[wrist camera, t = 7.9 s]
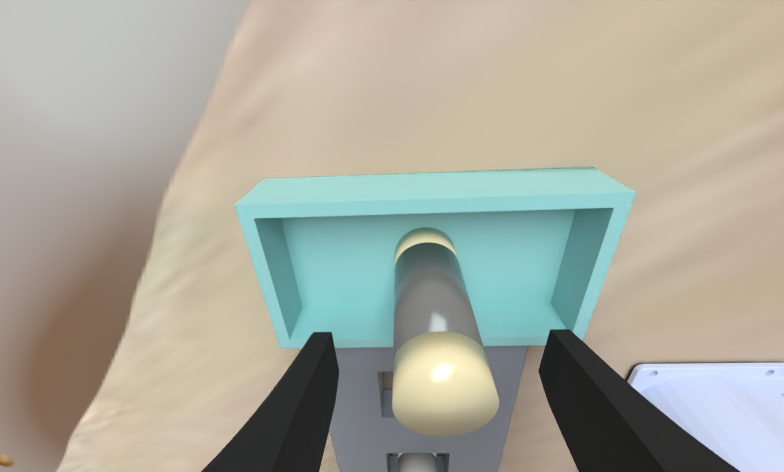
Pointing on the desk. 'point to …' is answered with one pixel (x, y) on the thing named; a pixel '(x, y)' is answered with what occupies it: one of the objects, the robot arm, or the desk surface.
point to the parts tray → (459, 222)
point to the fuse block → (387, 435)
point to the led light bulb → (437, 342)
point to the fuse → (417, 462)
